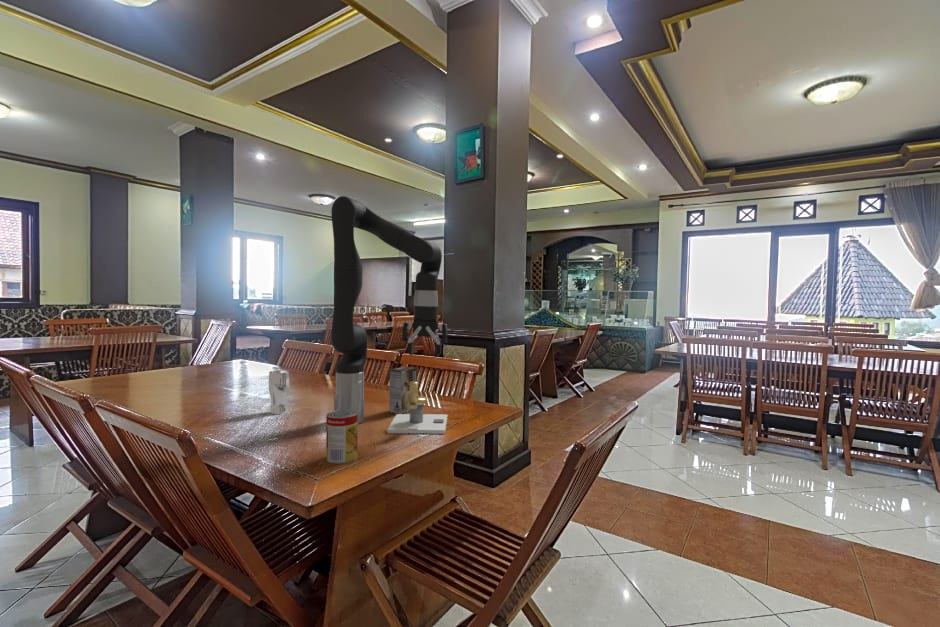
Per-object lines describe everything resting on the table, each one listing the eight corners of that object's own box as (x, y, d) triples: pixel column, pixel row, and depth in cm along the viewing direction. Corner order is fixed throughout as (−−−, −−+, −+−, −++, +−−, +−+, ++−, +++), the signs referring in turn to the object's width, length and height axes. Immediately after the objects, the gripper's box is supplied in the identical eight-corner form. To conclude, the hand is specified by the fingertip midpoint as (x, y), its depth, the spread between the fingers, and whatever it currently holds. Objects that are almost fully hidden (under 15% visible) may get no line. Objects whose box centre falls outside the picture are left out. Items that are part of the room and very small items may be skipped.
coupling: (401, 409, 135) (401, 382, 135) (407, 399, 148) (407, 375, 148) (424, 409, 135) (424, 383, 135) (427, 400, 148) (428, 375, 148)
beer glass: (284, 414, 155) (284, 373, 154) (265, 414, 155) (264, 373, 154) (292, 409, 162) (292, 370, 161) (274, 409, 162) (273, 369, 161)
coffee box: (405, 407, 168) (405, 365, 168) (417, 409, 165) (418, 367, 164) (388, 412, 160) (388, 369, 160) (401, 414, 157) (401, 370, 156)
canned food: (360, 452, 119) (360, 409, 118) (353, 463, 111) (353, 417, 110) (331, 452, 118) (331, 409, 118) (322, 463, 111) (322, 417, 110)
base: (387, 433, 136) (387, 410, 135) (396, 417, 154) (396, 397, 153) (444, 434, 136) (444, 411, 135) (447, 417, 154) (447, 397, 153)
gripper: (400, 304, 135) (399, 355, 135) (445, 306, 133) (443, 358, 134) (407, 303, 142) (406, 352, 143) (450, 305, 140) (448, 355, 141)
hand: (424, 355), depth 138 cm, fingers open, 8 cm apart
